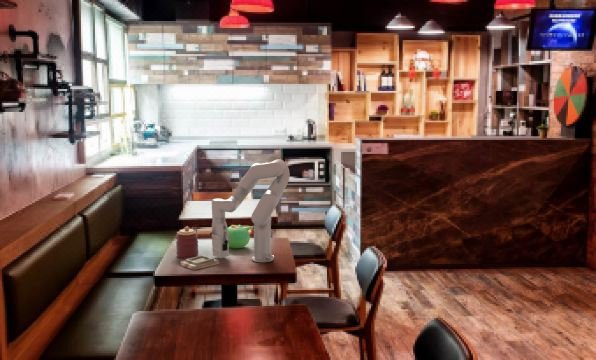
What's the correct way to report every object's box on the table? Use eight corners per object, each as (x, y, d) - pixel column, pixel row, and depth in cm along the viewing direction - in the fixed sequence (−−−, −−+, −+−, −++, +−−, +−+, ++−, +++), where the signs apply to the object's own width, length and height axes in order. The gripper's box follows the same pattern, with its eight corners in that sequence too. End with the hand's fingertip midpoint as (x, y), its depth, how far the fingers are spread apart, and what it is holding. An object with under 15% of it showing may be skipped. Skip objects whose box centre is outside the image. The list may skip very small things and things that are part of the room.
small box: (229, 256, 374) (228, 234, 372) (220, 258, 370) (219, 236, 368) (221, 253, 380) (220, 232, 378) (212, 255, 376) (211, 234, 374)
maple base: (218, 263, 364) (218, 258, 364) (194, 270, 352) (194, 264, 352) (204, 259, 373) (204, 253, 373) (180, 265, 361) (180, 259, 361)
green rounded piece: (217, 247, 400) (217, 224, 397) (239, 242, 411) (238, 220, 409) (234, 252, 387) (234, 229, 384) (256, 248, 398) (256, 224, 396)
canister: (174, 258, 374) (173, 229, 371) (178, 252, 387) (177, 224, 384) (197, 258, 374) (196, 229, 371) (199, 252, 387) (199, 224, 384)
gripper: (233, 220, 368) (234, 250, 371) (214, 216, 380) (216, 245, 383) (223, 223, 363) (224, 253, 365) (204, 219, 375) (205, 248, 377)
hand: (220, 249), depth 374 cm, fingers closed on small box, 8 cm apart
